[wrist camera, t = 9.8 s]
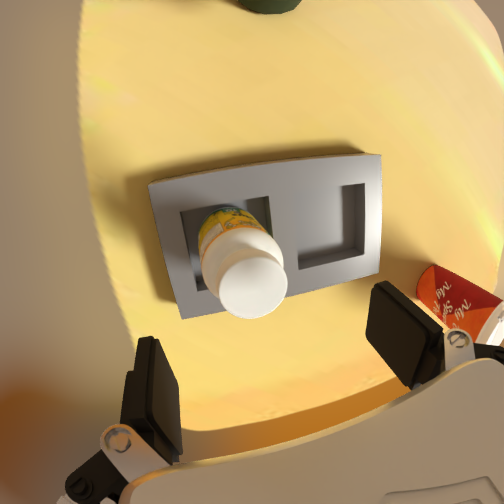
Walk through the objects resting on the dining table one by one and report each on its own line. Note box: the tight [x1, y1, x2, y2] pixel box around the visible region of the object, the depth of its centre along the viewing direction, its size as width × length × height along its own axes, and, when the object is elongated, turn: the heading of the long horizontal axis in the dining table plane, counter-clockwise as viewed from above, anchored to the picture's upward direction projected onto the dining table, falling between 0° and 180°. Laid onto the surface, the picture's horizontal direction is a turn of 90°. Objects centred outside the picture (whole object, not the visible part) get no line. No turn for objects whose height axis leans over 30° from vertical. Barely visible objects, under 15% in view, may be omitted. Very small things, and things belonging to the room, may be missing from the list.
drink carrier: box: [148, 153, 382, 319], centre depth 24 cm, size 12×20×2 cm, turn 97°
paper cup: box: [416, 265, 504, 346], centre depth 27 cm, size 8×8×14 cm
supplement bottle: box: [198, 207, 288, 319], centre depth 20 cm, size 5×5×10 cm
